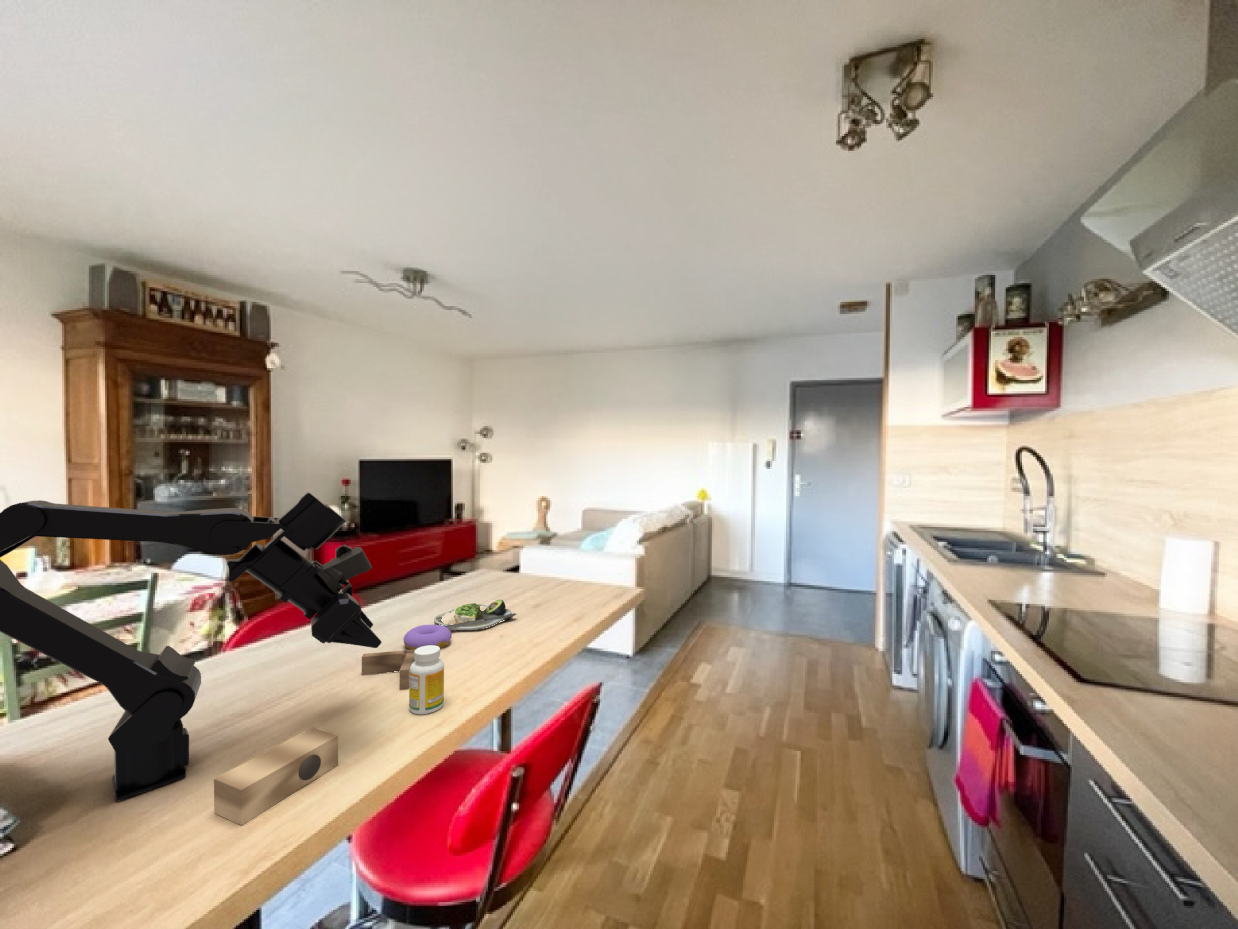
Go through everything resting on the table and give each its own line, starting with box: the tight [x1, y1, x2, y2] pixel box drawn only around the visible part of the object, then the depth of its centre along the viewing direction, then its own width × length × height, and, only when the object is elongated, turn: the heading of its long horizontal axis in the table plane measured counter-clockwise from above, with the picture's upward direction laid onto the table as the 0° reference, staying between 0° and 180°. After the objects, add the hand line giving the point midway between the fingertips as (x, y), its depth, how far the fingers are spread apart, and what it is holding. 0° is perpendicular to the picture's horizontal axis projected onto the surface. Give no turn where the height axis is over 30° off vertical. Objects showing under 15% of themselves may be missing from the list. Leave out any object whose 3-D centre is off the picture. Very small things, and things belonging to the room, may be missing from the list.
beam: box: [213, 727, 339, 826], centre depth 62 cm, size 12×5×4 cm, turn 157°
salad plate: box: [433, 599, 517, 631], centre depth 125 cm, size 19×18×5 cm
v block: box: [361, 649, 416, 691], centre depth 95 cm, size 8×13×4 cm, turn 59°
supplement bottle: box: [408, 645, 445, 715], centre depth 83 cm, size 5×5×10 cm
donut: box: [402, 624, 452, 650], centre depth 110 cm, size 10×9×5 cm
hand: (374, 635), depth 78 cm, fingers open, 9 cm apart
